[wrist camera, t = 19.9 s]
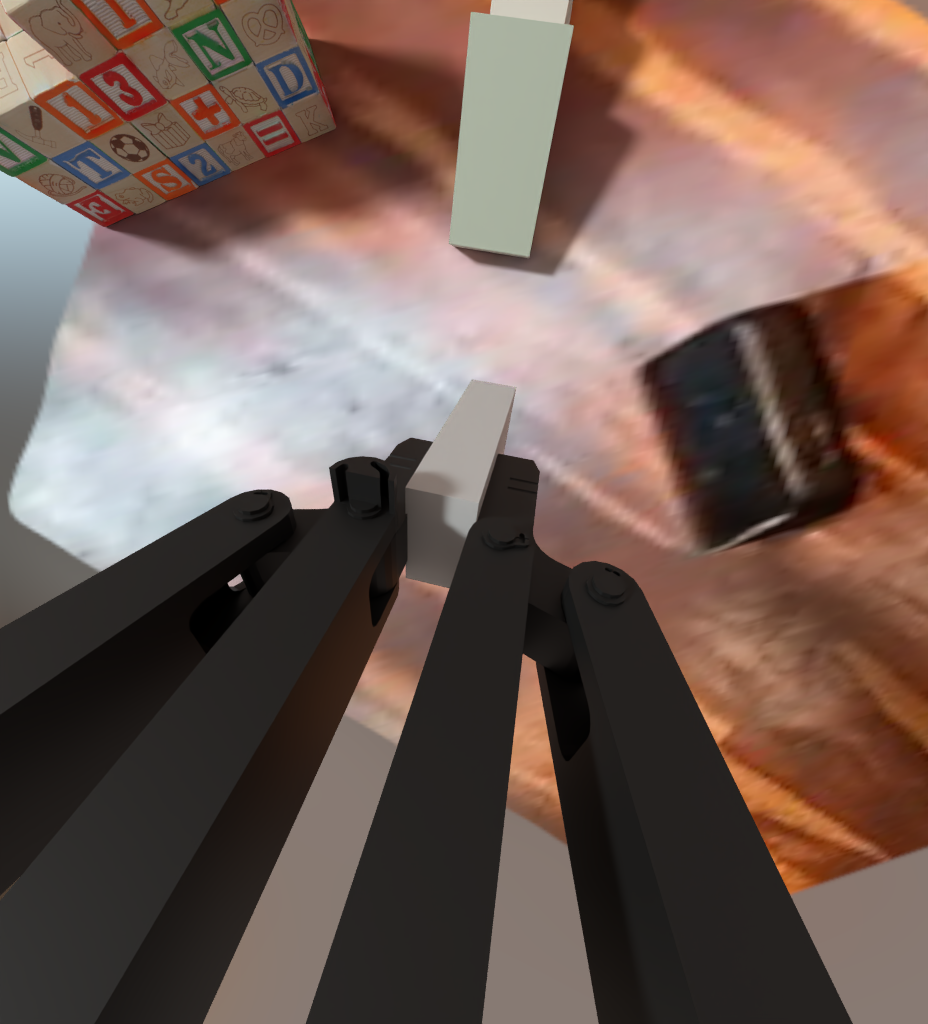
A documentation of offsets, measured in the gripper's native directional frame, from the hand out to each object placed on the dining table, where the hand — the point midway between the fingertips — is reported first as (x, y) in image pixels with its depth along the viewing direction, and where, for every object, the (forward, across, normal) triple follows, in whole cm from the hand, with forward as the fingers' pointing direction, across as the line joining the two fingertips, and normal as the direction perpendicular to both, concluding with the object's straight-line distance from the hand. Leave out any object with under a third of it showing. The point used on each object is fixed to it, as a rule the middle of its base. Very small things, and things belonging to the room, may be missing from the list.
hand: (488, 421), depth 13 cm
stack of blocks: (+24, -28, +8) cm, 38 cm away
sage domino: (+22, -4, +4) cm, 22 cm away
